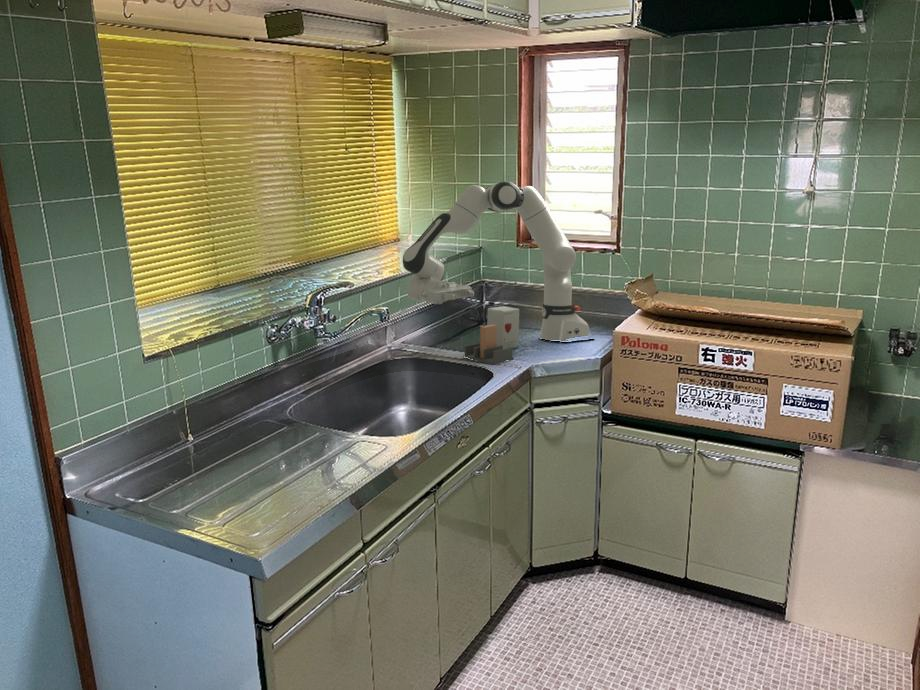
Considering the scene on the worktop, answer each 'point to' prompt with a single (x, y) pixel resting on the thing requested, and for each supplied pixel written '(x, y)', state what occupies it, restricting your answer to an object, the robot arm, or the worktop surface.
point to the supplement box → (505, 325)
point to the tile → (488, 337)
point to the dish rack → (489, 354)
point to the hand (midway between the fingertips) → (464, 295)
